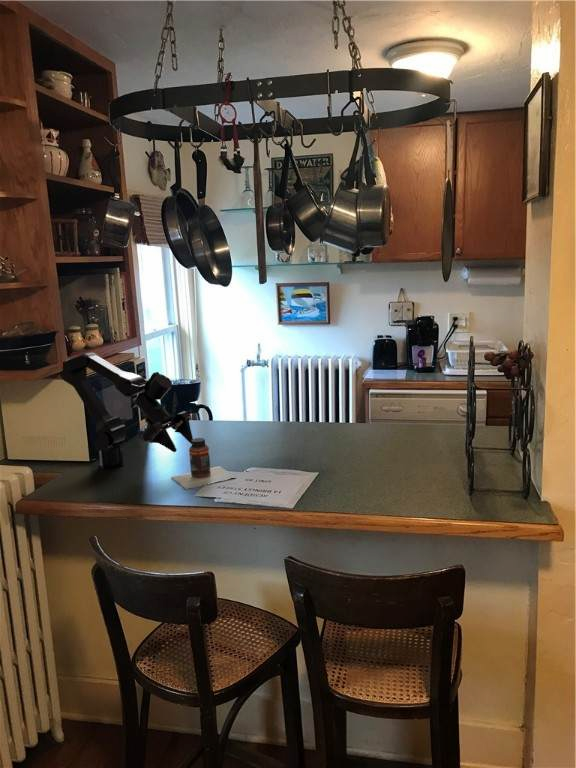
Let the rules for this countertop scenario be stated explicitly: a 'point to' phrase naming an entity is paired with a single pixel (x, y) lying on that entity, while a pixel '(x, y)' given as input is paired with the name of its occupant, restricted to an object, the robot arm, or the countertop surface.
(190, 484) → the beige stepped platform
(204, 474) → the supplement bottle
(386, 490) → the countertop surface
